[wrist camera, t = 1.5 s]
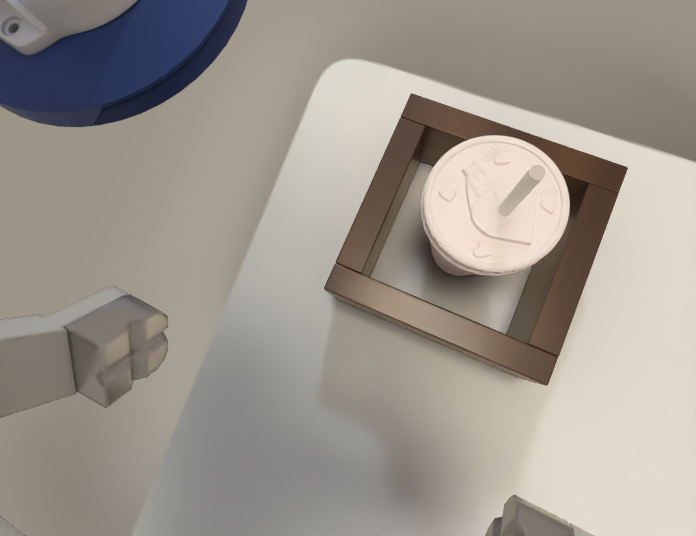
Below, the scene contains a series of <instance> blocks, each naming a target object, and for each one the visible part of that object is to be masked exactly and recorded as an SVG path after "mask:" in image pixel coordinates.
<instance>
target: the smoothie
mask: <svg viewBox="0 0 696 536" xmlns="http://www.w3.org/2000/svg"><path fill="white" fill-rule="evenodd" d="M569 210H570V200H569V193H568V189H567V185H566V182H565V180H564V178H563V176H562V174H561V172H560V170H559V169H558V167H557V166H556V165H555V163H554V162H553V161H552V160H551V159H550V158H549V157H548V156H547V155H546V154H545V153H544V152H542V151H541V150H540V149H538V148H537V147H535V146H533V145H532V144H530V143H527V142H525V141H523V140H520V139H517V138H513V137H508V136H500V135H490V136H481V137H476V138H473V139H470V140H467V141H464V142H462V143H460V144H458V145H456V146H455V147H453V148H452V149H450V150H449V151H448V152H447V153H445V154H444V155H443V156H442V157H441V158H440V159H439V161H438V162H437V163H436V164H435V166H434V167H433V169H432V171H431V172H430V175H429V177H428V178H427V180H426V183H425V186H424V189H423V192H422V195H421V212H420V213H421V217H422V222H423V226H424V230H425V232H426V234H427V236H428V238H429V239H430V241H431V250H432V255H433V258H434V260H435V262H436V264H437V265H438V266H439V267H440V268H441V269H442V270H443V271H445V272H447V273H449V274H451V275H455V276H466V275H472V274H479V275H491V276H502V275H507V274H512V273H517V272H519V271H521V270H524V269H526V268H528V267H530V266H532V265H534V264H535V263H536V262H538V261H539V260H540V259H541V258H543V257H544V256H545V255H547V254H548V253H549V252H550V251H551V250H552V249H553V248H554V247H555V245H556V244H557V243H558V241H559V240H560V238H561V236H562V235H563V233H564V230H565V228H566V225H567V222H568V217H569Z"/></svg>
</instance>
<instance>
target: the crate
mask: <svg viewBox="0 0 696 536" xmlns="http://www.w3.org/2000/svg"><path fill="white" fill-rule="evenodd" d="M490 135H500V136H508V137H513V138H517V139H520V140H523V141H525V142H527V143H530V144H532V145H533V146H535V147H537V148H538V149H540V150H541V151H542V152H544V153H545V154H546V155H547V156H548V157H549V158H550V159H551V160H552V161H553V162H554V163H555V165H556V166H557V167H558V169H559V170H560V172H561V174H562V176H563V178H564V180H565V182H566V185H567V189H568V193H569V200H570V210H569V217H568V222H567V225H566V228H565V230H564V233H563V235H562V236H561V238H560V240H559V241H558V243H557V244H556V245H555V247H554V248H553V249H552V250H551V251H550V252H549V253H548V254H547V255H545V256H544V257H543V258H541V259H540V260H539V261H538V262H536V263H535V264H534V265H533V267H532V270H531V273H530V275H529V278H528V280H527V283H526V286H525V288H524V291H523V293H522V296H521V298H520V301H519V304H518V306H517V309H516V311H515V314H514V317H513V319H512V322H511V324H510V327H509V330H508V332H507V335H505V334H503V333H501V332H498V331H496V330H494V329H491V328H489V327H486V326H484V325H482V324H479V323H477V322H475V321H472V320H470V319H467V318H465V317H463V316H460V315H458V314H456V313H453V312H451V311H448V310H446V309H444V308H441V307H439V306H437V305H434V304H432V303H429V302H427V301H425V300H422V299H420V298H418V297H415V296H413V295H410V294H408V293H406V292H403V291H401V290H399V289H396V288H394V287H391V286H389V285H387V284H384V283H382V282H380V281H377V280H375V279H372V278H370V275H371V273H372V271H373V269H374V266H375V264H376V262H377V259H378V257H379V255H380V252H381V250H382V248H383V246H384V243H385V241H386V239H387V236H388V234H389V232H390V229H391V227H392V225H393V223H394V220H395V218H396V216H397V213H398V211H399V209H400V207H401V204H402V202H403V200H404V197H405V195H406V193H407V190H408V188H409V186H410V184H411V181H412V179H413V177H414V174H415V172H416V170H417V167H418V165H419V163H420V161H421V162H424V163H427V164H429V165H432V166H435V164H436V163H437V162H438V161H439V159H440V158H441V157H442V156H443V155H444V154H445V153H447V152H448V151H449V150H450V149H452V148H453V147H455V146H456V145H458V144H460V143H462V142H464V141H467V140H470V139H473V138H476V137H481V136H490ZM627 169H628V168H627V167H625V166H622V165H619V164H616V163H613V162H610V161H607V160H605V159H602V158H599V157H596V156H593V155H590V154H587V153H584V152H581V151H578V150H575V149H572V148H570V147H567V146H564V145H561V144H558V143H555V142H552V141H549V140H546V139H543V138H540V137H537V136H534V135H532V134H529V133H526V132H523V131H520V130H517V129H514V128H511V127H508V126H505V125H502V124H499V123H496V122H494V121H491V120H488V119H485V118H482V117H479V116H476V115H473V114H470V113H467V112H464V111H461V110H459V109H456V108H453V107H450V106H447V105H444V104H441V103H438V102H435V101H432V100H429V99H426V98H423V97H421V96H418V95H415V94H411V95H410V97H409V99H408V101H407V104H406V106H405V108H404V110H403V113H402V115H401V118H400V120H399V122H398V124H397V126H396V128H395V131H394V133H393V135H392V137H391V140H390V142H389V144H388V146H387V149H386V151H385V153H384V155H383V157H382V160H381V162H380V164H379V166H378V169H377V171H376V173H375V175H374V178H373V180H372V182H371V184H370V186H369V189H368V191H367V193H366V195H365V198H364V200H363V202H362V204H361V207H360V209H359V211H358V213H357V215H356V218H355V220H354V222H353V224H352V227H351V229H350V231H349V233H348V236H347V238H346V240H345V242H344V245H343V247H342V249H341V251H340V253H339V256H338V258H337V260H336V263H335V265H334V267H333V269H332V271H331V274H330V276H329V278H328V280H327V282H326V285H325V287H324V289H325V290H326V291H327V292H328V293H330V294H331V295H332V296H333V297H334V298H336V299H338V300H340V301H343V302H345V303H347V304H349V305H352V306H354V307H356V308H359V309H361V310H363V311H366V312H368V313H370V314H372V315H375V316H377V317H379V318H382V319H384V320H386V321H389V322H391V323H393V324H395V325H398V326H400V327H402V328H405V329H407V330H409V331H411V332H414V333H416V334H418V335H421V336H423V337H425V338H428V339H430V340H432V341H434V342H437V343H439V344H441V345H444V346H446V347H448V348H451V349H453V350H455V351H457V352H460V353H462V354H464V355H467V356H469V357H471V358H474V359H476V360H478V361H480V362H483V363H485V364H487V365H490V366H492V367H494V368H497V369H499V370H501V371H503V372H506V373H508V374H510V375H513V376H515V377H517V378H521V379H524V380H528V381H532V382H535V383H539V384H543V385H548V383H549V380H550V378H551V375H552V372H553V369H554V367H555V364H556V361H557V359H558V357H557V356H559V354H560V351H561V348H562V346H563V343H564V340H565V338H566V335H567V332H568V329H569V327H570V324H571V321H572V319H573V316H574V313H575V310H576V308H577V305H578V302H579V300H580V297H581V294H582V291H583V289H584V286H585V283H586V280H587V278H588V275H589V272H590V270H591V267H592V264H593V261H594V259H595V256H596V253H597V251H598V248H599V245H600V242H601V240H602V237H603V234H604V232H605V229H606V226H607V223H608V221H609V218H610V215H611V213H612V210H613V207H614V204H615V202H616V199H617V196H618V193H619V190H620V188H621V185H622V182H623V180H624V177H625V174H626V171H627Z"/></svg>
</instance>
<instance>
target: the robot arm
mask: <svg viewBox="0 0 696 536" xmlns="http://www.w3.org/2000/svg"><path fill="white" fill-rule="evenodd" d="M137 1H138V0H0V39H1V40H2V41H4V42H5V43H7V44H8V45H10V46H11V47H13V48H14V49H15V50H17V51H18V52H20V53H22V54H24V55H33V54H36V53H38V52H40V51H42V50H44V49H45V48H47V47H49V46H50V45H52V44H53V43H55V42H56V41H58V40H59V39H61V38H63V37H66V36H69V35H73V34H77V33H82V32H86V31H89V30H92V29H95V28H98V27H100V26H102V25H105V24H106V23H108V22H110V21H112V20H114V19H115V18H117V17H119V16H120V15H121V14H123V13H124V12H125V11H127V10H128V9H129V8H130V7H131V6H132V5H134V4H135V3H136V2H137ZM167 327H168V317H167V315H166V314H164V313H163V312H161V311H159V310H157V309H155V308H154V307H152V306H150V305H148V304H147V303H145V302H143V301H141V300H140V299H138V298H136V297H134V296H132V295H130V294H128V293H126V292H124V291H123V290H121V289H119V288H117V287H106V288H104V289H102V290H100V291H98V292H96V293H94V294H91V295H89V296H87V297H85V298H83V299H81V300H79V301H77V302H75V303H73V304H71V305H69V306H67V307H65V308H63V309H60V310H58V311H56V312H54V313H52V314H50V315H48V316H46V317H44V316H42V315H40V314H39V315H31V316H23V317H15V318H6V319H0V418H1V417H5V416H7V415H11V414H14V413H17V412H20V411H23V410H27V409H30V408H33V407H36V406H39V405H42V404H45V403H49V402H52V401H55V400H58V399H61V398H64V397H68V396H71V395H74V394H76V391H77V392H79V393H80V394H82V395H84V396H86V397H87V398H89V399H91V400H92V401H94V402H96V403H98V404H99V405H101V406H103V407H105V408H107V407H108V406H110V405H111V404H112V403H114V402H115V401H116V400H117V399H119V398H120V397H122V396H123V395H124V394H126V393H127V392H128V391H129V390H131V388H132V385H133V382H134V380H137V379H141V378H146V377H148V376H149V375H150V374H152V373H153V372H154V371H156V370H157V369H158V367H159V366H160V365H161V363H162V362H163V361H164V359H165V357H166V354H167V351H168V341H167V339H166V336H165V334H164V333H163V331H164V330H165V329H166V328H167ZM0 536H26V535H24V534H23V533H22V532H21V531H19V530H18V529H17V528H15V527H14V526H13V525H11V524H10V523H9V522H8V521H6V520H5V519H4V518H2V517H1V516H0ZM485 536H594V535H592V534H590V533H588V532H586V531H584V530H582V529H580V528H578V527H576V526H574V525H572V524H570V523H568V522H567V521H565V520H563V519H561V518H559V517H557V516H556V515H554V514H552V513H550V512H548V511H546V510H544V509H542V508H540V507H538V506H536V505H534V504H532V503H530V502H528V501H526V500H524V499H522V498H520V497H518V496H516V495H513V496H511V497H510V498H509V499H508V500H507V502H506V503H505V504H504V509H503V517H499V518H494V520H493V522H492V523H491V525H490V526H489V528H488V530H487V532H486V535H485Z"/></svg>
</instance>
